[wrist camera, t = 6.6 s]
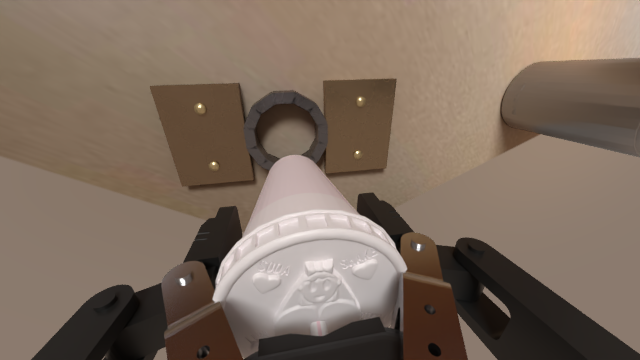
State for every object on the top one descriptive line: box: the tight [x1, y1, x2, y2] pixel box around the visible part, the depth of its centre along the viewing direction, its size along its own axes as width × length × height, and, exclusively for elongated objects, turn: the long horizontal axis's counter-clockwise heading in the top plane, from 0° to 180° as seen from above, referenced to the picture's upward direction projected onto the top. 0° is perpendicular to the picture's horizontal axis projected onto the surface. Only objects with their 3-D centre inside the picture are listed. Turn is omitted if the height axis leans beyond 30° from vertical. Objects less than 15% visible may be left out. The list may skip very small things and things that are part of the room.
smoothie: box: [212, 155, 407, 358], centre depth 9 cm, size 6×6×14 cm
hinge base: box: [150, 79, 396, 186], centre depth 28 cm, size 28×12×2 cm, turn 91°
